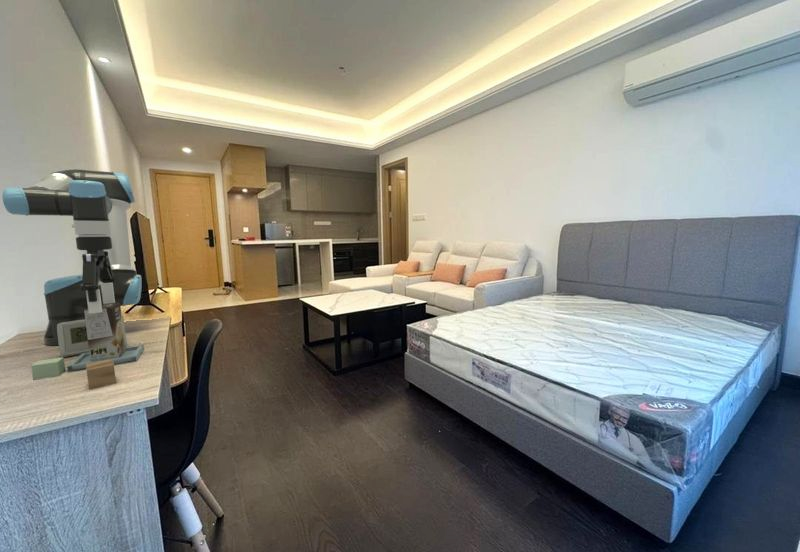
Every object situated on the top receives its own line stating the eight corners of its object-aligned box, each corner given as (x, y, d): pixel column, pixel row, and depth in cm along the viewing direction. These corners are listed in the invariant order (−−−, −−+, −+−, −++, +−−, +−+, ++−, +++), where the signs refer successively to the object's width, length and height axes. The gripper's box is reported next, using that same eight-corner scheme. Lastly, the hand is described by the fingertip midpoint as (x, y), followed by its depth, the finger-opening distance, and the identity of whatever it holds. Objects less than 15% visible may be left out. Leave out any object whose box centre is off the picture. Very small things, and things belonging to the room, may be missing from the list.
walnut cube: (88, 383, 83) (86, 364, 82) (114, 377, 86) (112, 359, 86) (89, 389, 79) (86, 370, 79) (116, 383, 83) (113, 364, 82)
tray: (82, 358, 100) (82, 353, 100) (143, 349, 108) (143, 344, 107) (67, 372, 90) (66, 366, 90) (136, 361, 97) (135, 356, 97)
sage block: (40, 374, 89) (38, 360, 88) (65, 370, 91) (63, 357, 91) (33, 380, 85) (31, 365, 85) (59, 376, 88) (57, 361, 87)
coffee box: (118, 360, 97) (112, 307, 95) (90, 364, 93) (82, 310, 91) (126, 351, 104) (120, 302, 103) (99, 354, 101) (93, 304, 99)
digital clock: (56, 359, 100) (51, 326, 98) (66, 351, 107) (62, 319, 106) (124, 349, 108) (121, 318, 107) (129, 342, 116) (126, 313, 114)
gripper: (90, 235, 103) (99, 301, 106) (57, 236, 82) (69, 319, 85) (121, 235, 107) (128, 298, 110) (97, 236, 85) (107, 315, 88)
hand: (102, 307), depth 97 cm, fingers open, 13 cm apart
